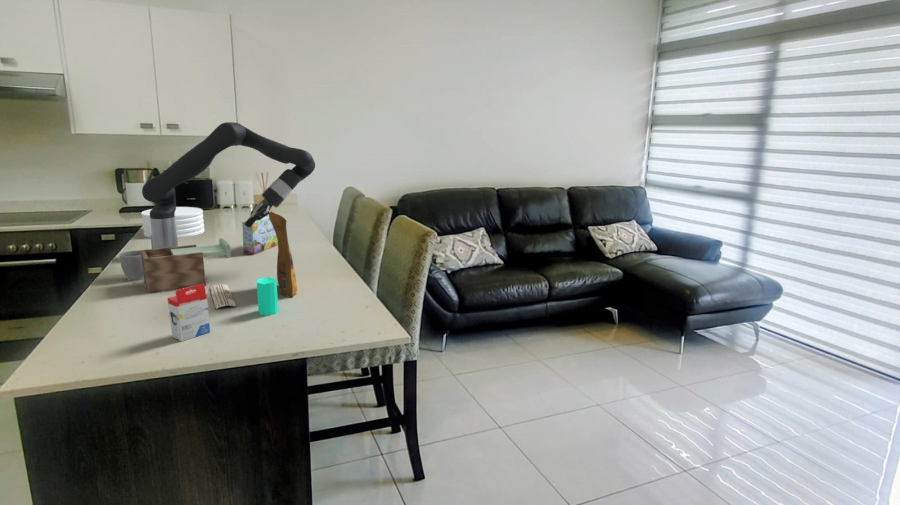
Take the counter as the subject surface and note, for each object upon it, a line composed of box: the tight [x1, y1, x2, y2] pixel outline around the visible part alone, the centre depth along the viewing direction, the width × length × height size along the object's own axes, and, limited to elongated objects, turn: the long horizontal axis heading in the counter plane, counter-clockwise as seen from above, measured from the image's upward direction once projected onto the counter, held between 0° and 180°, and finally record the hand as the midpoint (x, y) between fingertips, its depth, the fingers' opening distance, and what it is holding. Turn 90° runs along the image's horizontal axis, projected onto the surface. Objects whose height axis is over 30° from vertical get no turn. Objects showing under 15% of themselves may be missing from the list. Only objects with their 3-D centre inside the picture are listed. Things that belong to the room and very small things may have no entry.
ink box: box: [167, 284, 211, 342], centre depth 138 cm, size 8×5×15 cm, turn 145°
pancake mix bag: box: [268, 210, 298, 298], centre depth 175 cm, size 7×19×28 cm, turn 27°
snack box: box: [241, 214, 278, 256], centre depth 232 cm, size 21×6×15 cm, turn 168°
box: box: [139, 244, 207, 294], centre depth 180 cm, size 18×14×12 cm
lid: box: [170, 237, 231, 259], centre depth 184 cm, size 18×12×5 cm, turn 126°
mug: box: [118, 250, 144, 281], centre depth 187 cm, size 12×9×10 cm
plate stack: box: [141, 206, 205, 239], centre depth 261 cm, size 28×28×12 cm
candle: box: [256, 275, 279, 316], centre depth 157 cm, size 6×6×12 cm
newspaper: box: [209, 284, 237, 310], centre depth 170 cm, size 24×7×2 cm, turn 29°
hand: (246, 225), depth 192 cm, fingers closed
